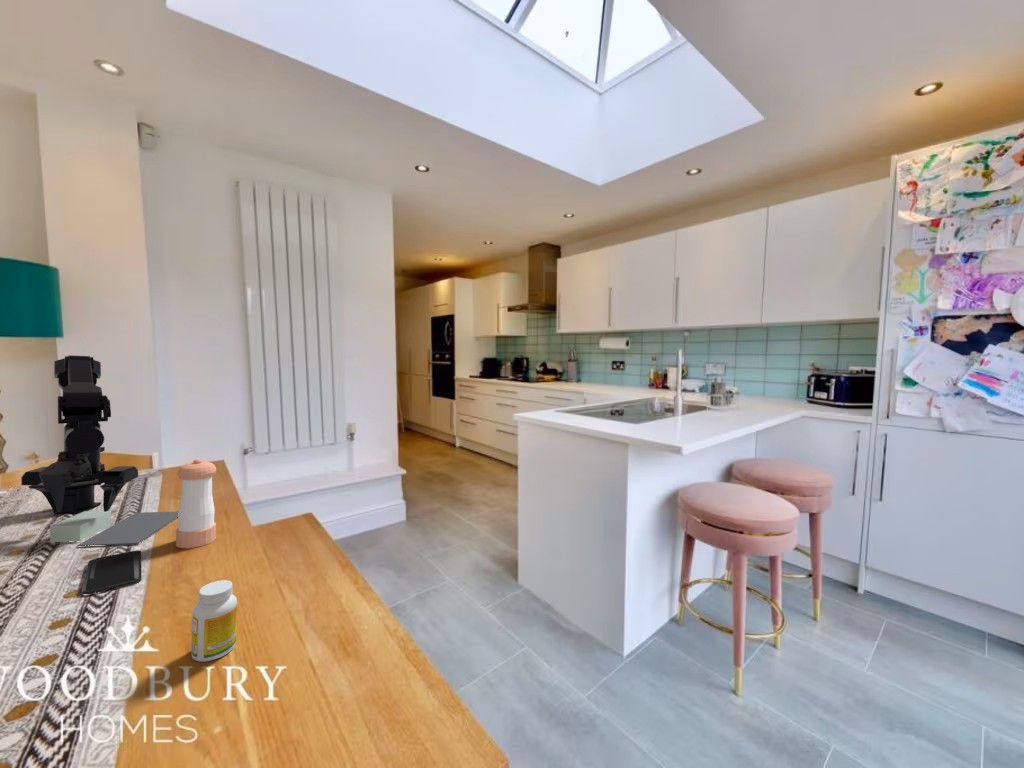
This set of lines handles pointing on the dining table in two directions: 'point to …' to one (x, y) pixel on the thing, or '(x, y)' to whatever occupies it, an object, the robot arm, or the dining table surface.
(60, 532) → the card case
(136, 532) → the rubber mat
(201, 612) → the supplement bottle
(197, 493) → the pepper shaker
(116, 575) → the phone
